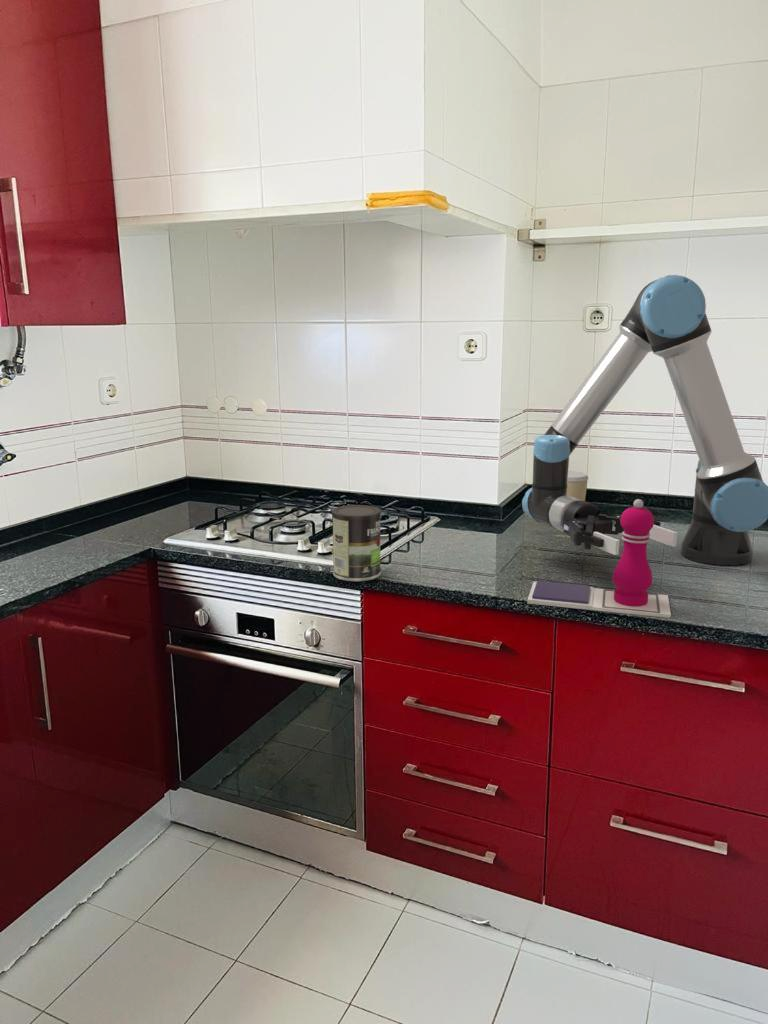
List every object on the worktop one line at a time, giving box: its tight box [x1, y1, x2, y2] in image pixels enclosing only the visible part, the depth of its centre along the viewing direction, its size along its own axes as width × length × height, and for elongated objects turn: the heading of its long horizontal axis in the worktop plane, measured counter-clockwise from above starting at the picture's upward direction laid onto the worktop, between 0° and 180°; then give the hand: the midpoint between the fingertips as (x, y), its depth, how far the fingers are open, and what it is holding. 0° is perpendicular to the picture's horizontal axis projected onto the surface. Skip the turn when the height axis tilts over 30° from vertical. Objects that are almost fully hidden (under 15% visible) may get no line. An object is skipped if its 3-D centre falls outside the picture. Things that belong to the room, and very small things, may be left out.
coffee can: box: [331, 504, 382, 582], centre depth 166 cm, size 10×10×14 cm
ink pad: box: [527, 580, 595, 611], centre depth 154 cm, size 12×11×1 cm
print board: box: [591, 587, 672, 619], centre depth 151 cm, size 14×11×1 cm
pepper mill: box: [612, 498, 655, 606], centre depth 148 cm, size 7×7×20 cm
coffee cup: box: [567, 470, 589, 502], centre depth 215 cm, size 9×9×12 cm
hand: (647, 543), depth 145 cm, fingers open, 13 cm apart
